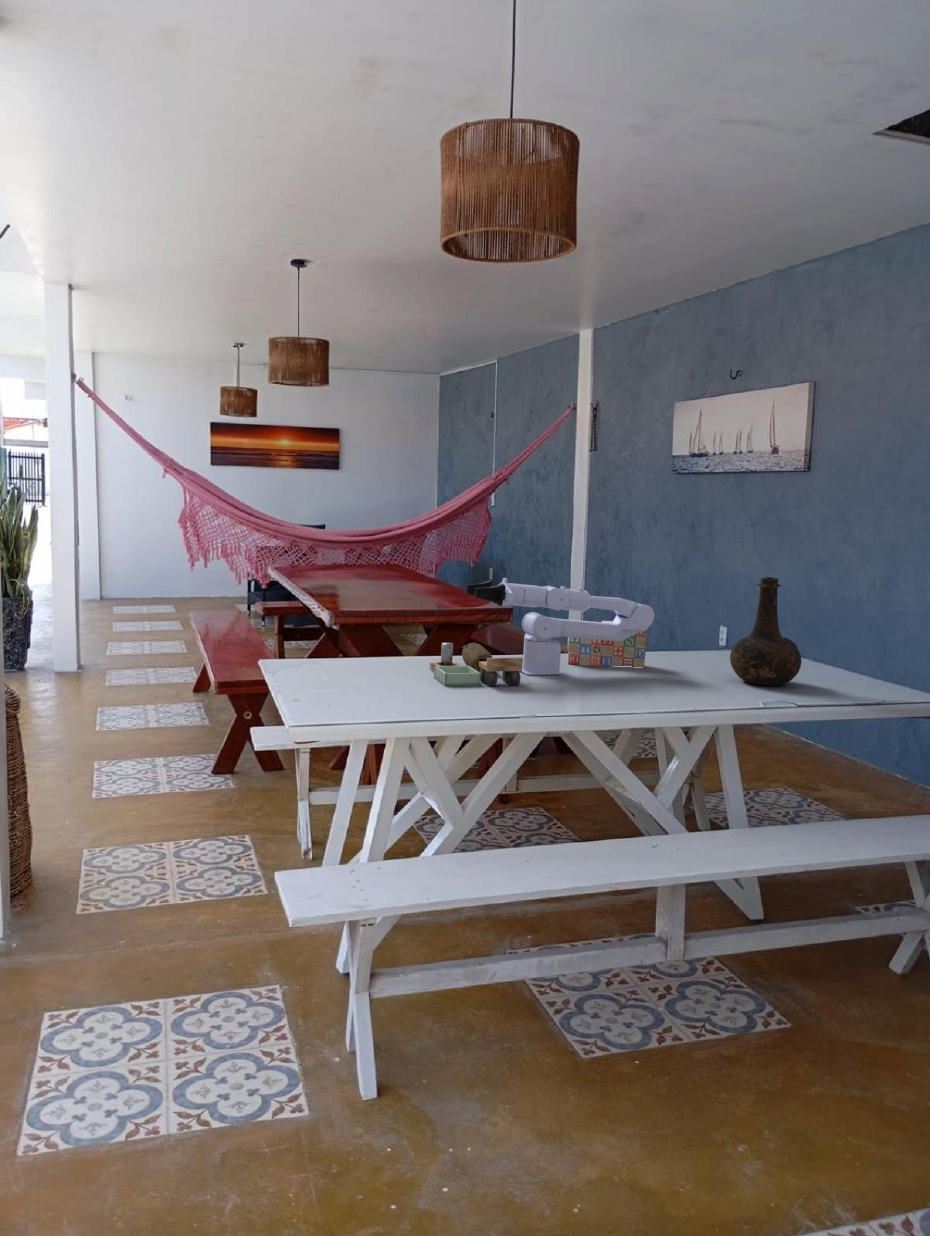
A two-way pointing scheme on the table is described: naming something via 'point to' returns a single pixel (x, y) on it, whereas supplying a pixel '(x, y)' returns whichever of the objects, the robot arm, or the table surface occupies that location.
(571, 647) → the stack of blocks
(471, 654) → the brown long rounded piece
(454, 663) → the pin holder
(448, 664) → the pin
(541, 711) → the table surface
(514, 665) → the trolley
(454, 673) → the tray
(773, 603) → the glass bottle
